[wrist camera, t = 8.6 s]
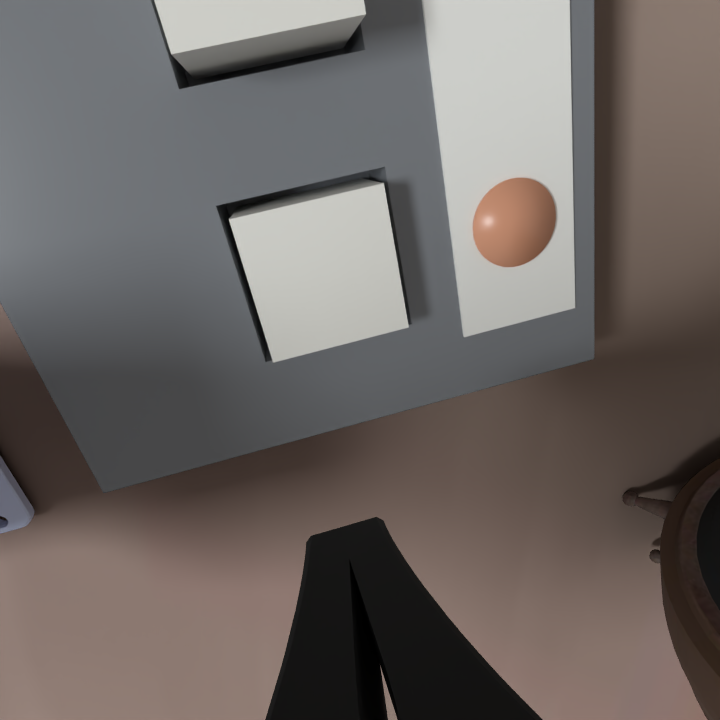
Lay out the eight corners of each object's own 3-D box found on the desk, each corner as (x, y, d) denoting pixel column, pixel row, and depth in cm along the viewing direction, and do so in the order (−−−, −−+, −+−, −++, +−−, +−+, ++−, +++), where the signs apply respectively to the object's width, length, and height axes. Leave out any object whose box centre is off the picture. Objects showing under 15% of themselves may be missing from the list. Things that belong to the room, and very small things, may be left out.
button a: (272, 324, 16) (273, 362, 13) (236, 206, 14) (229, 219, 11) (383, 296, 16) (408, 327, 13) (360, 178, 15) (383, 183, 12)
